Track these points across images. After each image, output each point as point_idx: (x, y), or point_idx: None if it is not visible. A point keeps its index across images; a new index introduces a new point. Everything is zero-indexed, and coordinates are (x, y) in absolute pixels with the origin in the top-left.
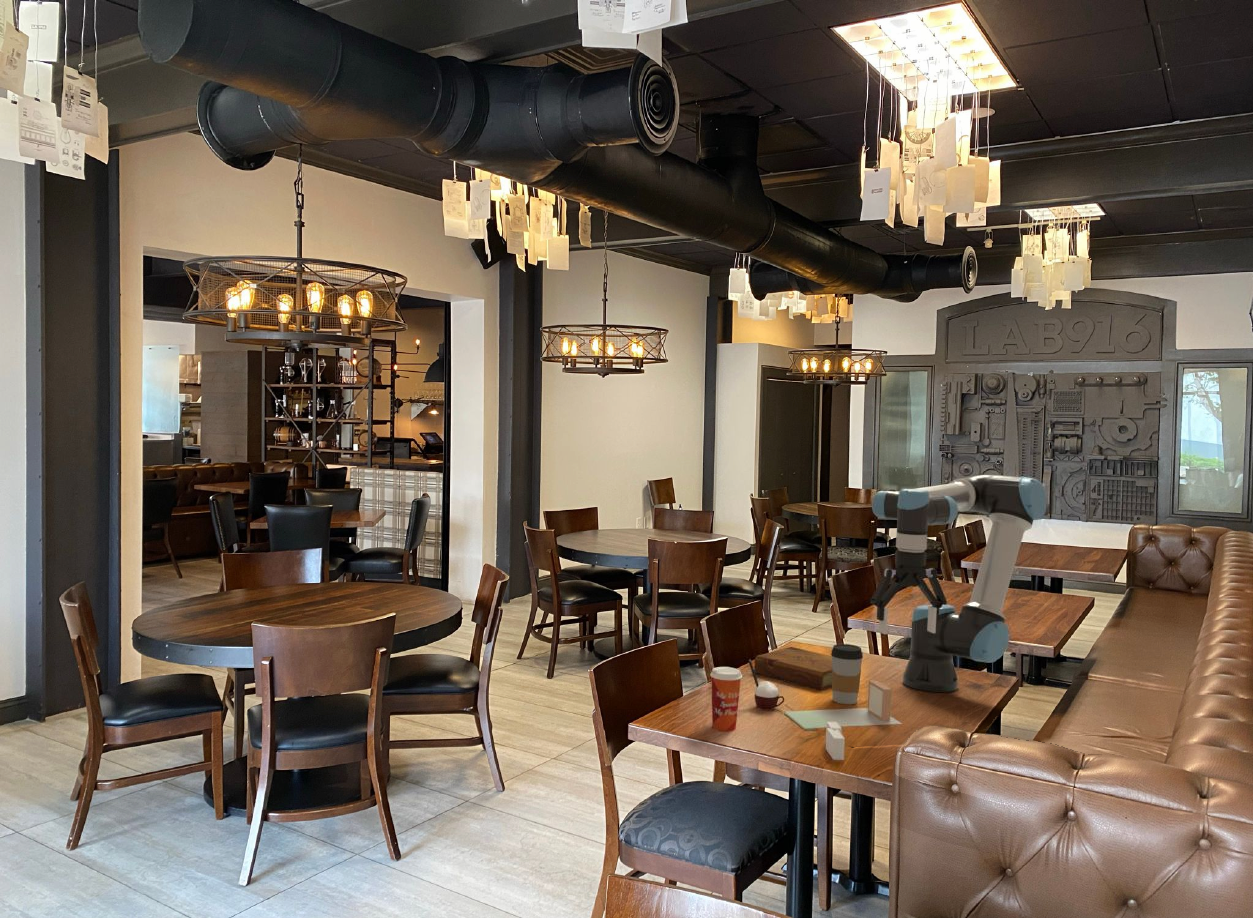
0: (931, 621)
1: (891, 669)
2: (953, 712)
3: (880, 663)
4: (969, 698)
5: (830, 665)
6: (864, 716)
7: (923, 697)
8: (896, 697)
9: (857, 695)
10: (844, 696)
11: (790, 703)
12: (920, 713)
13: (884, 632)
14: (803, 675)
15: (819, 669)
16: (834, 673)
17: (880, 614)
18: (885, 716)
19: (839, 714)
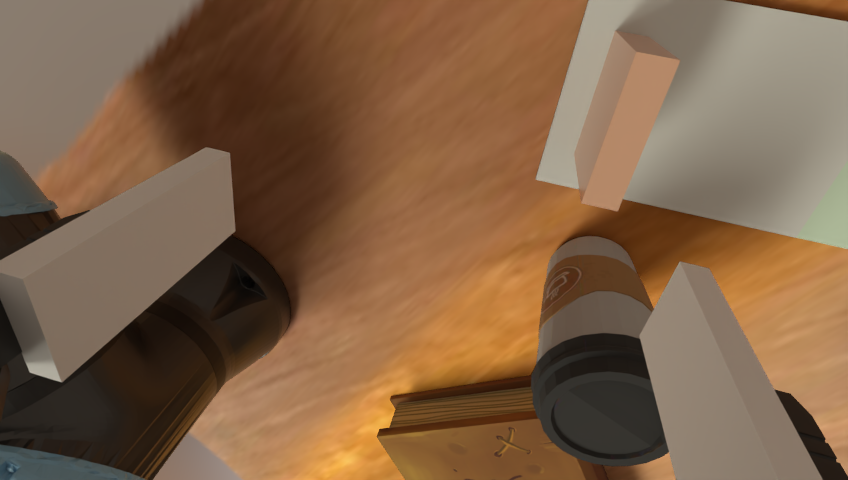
0: (169, 224)
1: (255, 408)
2: (289, 60)
3: (257, 443)
4: (165, 163)
5: (480, 446)
6: (670, 112)
7: (299, 219)
8: (382, 248)
9: (566, 254)
10: (627, 260)
11: (774, 328)
12: (412, 90)
13: (709, 278)
14: None
15: (546, 437)
16: None
17: (827, 459)
18: (639, 37)
19: (744, 165)
